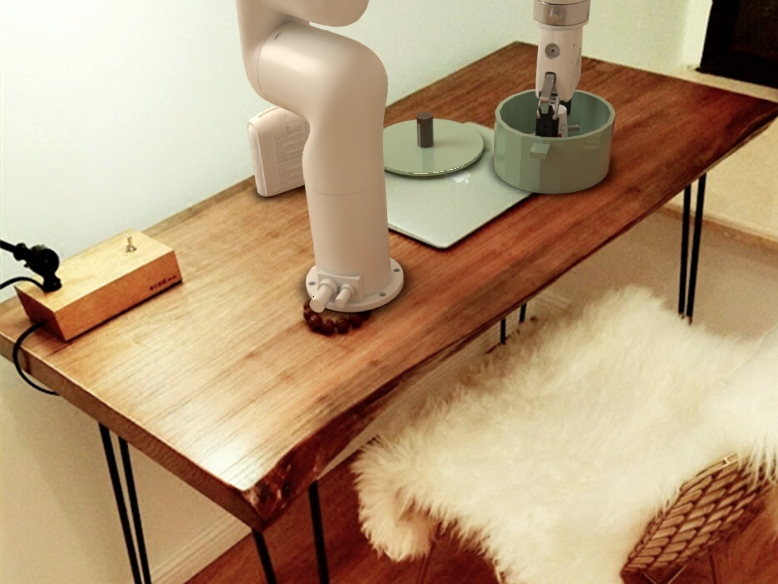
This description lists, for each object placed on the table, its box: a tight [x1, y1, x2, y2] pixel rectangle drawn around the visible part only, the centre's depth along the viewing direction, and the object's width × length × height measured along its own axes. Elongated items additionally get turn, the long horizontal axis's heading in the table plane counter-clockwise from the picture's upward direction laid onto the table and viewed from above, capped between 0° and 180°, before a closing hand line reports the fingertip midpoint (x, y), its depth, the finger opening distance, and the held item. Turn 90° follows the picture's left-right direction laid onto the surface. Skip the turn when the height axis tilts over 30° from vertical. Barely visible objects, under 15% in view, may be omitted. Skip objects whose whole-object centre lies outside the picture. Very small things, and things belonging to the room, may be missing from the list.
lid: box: [383, 111, 485, 177], centre depth 142 cm, size 18×18×6 cm
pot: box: [493, 86, 617, 195], centre depth 136 cm, size 17×23×8 cm
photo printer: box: [246, 105, 310, 198], centre depth 134 cm, size 10×4×12 cm, turn 123°
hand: (552, 128), depth 134 cm, fingers open, 9 cm apart
